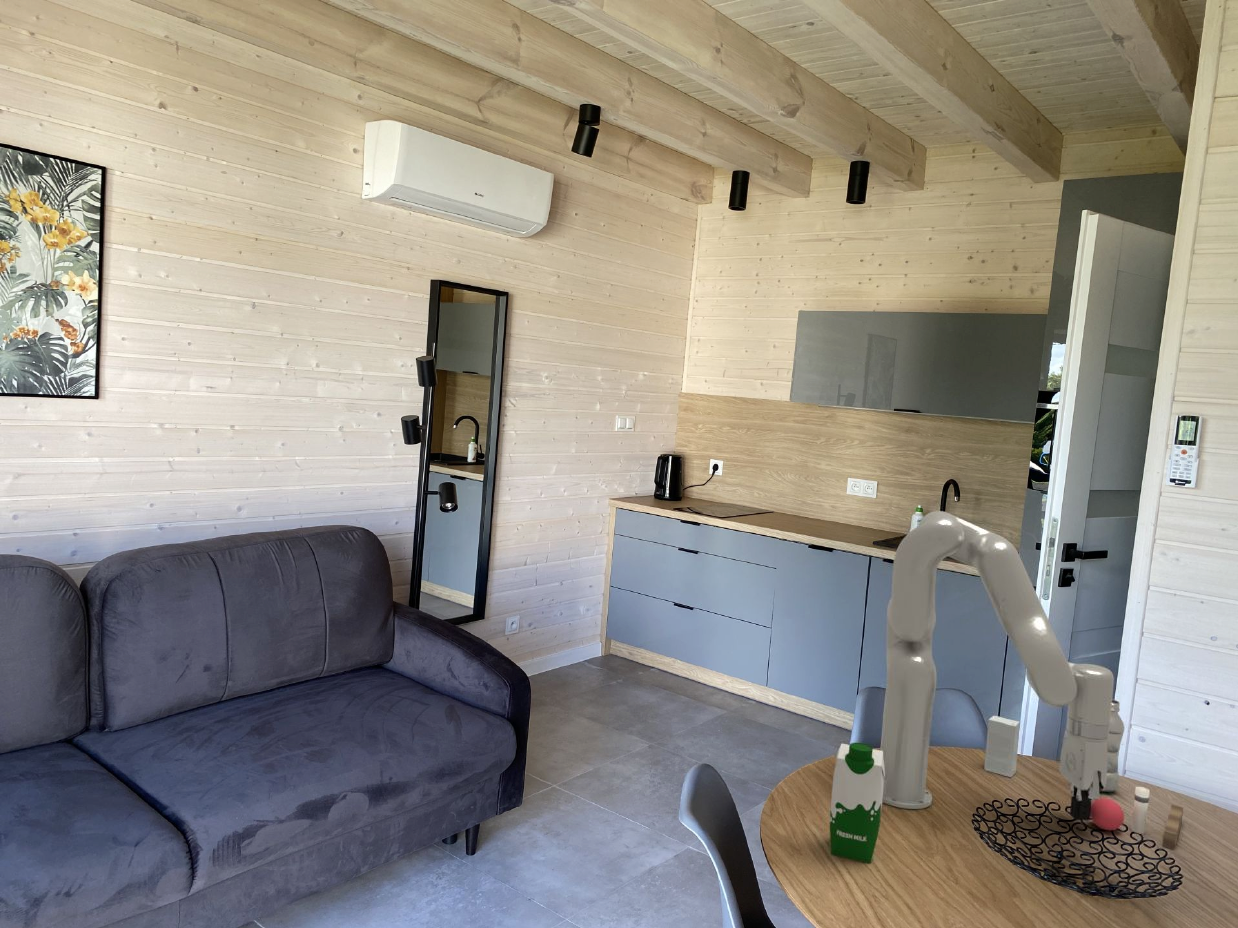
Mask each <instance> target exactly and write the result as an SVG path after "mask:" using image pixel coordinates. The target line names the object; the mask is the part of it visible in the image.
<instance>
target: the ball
mask: <svg viewBox="0 0 1238 928" xmlns="http://www.w3.org/2000/svg"><path fill="white" fill-rule="evenodd" d="M1090 819H1091V820H1092V822H1093V823H1094V825H1096V826H1097V827H1098V828H1100V829H1101V830H1104V831H1114V830H1118V829H1120V827H1121V826H1122V825H1123V823H1124V820H1125V815H1124V810H1123V808H1122V807H1121V806H1120V805H1119V803H1118V802H1117V801H1115V800H1114V799H1110V798H1106V797H1101V798H1100V797H1099V800H1097V799H1094V800H1093V802H1092V803H1091V814H1090Z"/></svg>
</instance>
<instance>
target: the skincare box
mask: <svg viewBox="0 0 1238 928" xmlns="http://www.w3.org/2000/svg"><path fill="white" fill-rule="evenodd" d="M1020 725H1021V722H1020V721H1018V720H1013V719H1008V718H1005V717H1002V716H997V715H993V716H991V717H990V718H989V719H988V720H987V733H986V734H987V735H986V742H985V743H986V745H985V753H984V754H985V755H984V756H985V757H984V766H983V767H984V768H983V770H984V771H986V772H990V773H994V774H998V775H1001V776H1004V777H1008V778H1012V777H1013V776H1014V775H1015V774H1016V771H1017V762H1018V751H1019V750H1018V749H1019V739H1020Z"/></svg>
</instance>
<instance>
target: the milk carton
mask: <svg viewBox="0 0 1238 928" xmlns="http://www.w3.org/2000/svg"><path fill="white" fill-rule="evenodd" d="M884 777H885V767H884V759H883V751H880V750H879V749H875V748H874V749H873V747H872V746H871V745H869V744H866V743H863V742H851V743H850V744H847V743H841V744H840V747H839V748H838V751H837V754H836V758H835V763H834V772H833V778H832V790H831V799H830V800H831V801H830V811H829V836H830V837H829V840H830V842H829V843H830V854H831V855H832V856H836V857H841V858H846V859H850V860H855V861H859V862H863V863H868V864H872V860H873V856H874V852H875V848H876V844H877V841H878V836H879V832H880V825H881V819H882V806H883V802H882V798H883V785H884Z"/></svg>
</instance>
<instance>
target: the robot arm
mask: <svg viewBox="0 0 1238 928" xmlns="http://www.w3.org/2000/svg"><path fill="white" fill-rule="evenodd" d="M906 534H907V535H905V536H904V537H903V538H902V540H901V542H900V543H899V545H898V547H897V549H896V551H895V554H894V559H893V564H892V566H893V567H892V581H891V598H890V599H889V602H888V604H887V609H886V652H885V654H886V657H885V658H886V671H887V672H886V673H887V674H886V684H885V694H884V695H885V696H884V705H883V714H882V715H883V716H882V729H881V741H880V751H883V759H884V767H885V777H884V785H883V798H882V804H887V805H889V806H893V807H896V808H900V809H906V810H920V809H921V810H922V809H925V808H927V807H929V806H931V805H932V803H933V795H932V793H931V792H930V791H929V790H928V789H927V788H926V784H927V783H926V781H927V774H928V773H927V771H928V764H929V763H928V761H929V749H930V739H931V729H932V718H933V709H934V708H933V707H934V700H935V695H936V690H937V689H936V688H937V681H938V680H937V679H938V677H937V673H938V672H937V668H936V664H935V661H934V659H933V658H934V657H933V632H934V629H935V627H936V623H937V615H936V582H937V572H938V571H937V570H938V566H939V565H940V564H941V562H942V561H943V560H944V559H945V558H947V557H949V558H952V559H953V560H955V561H957V562H960V563H963V564H965V565H967V566H970V567H972V568H974V569H976V570H977V572H978V575H979V577H980V579H981V581H982V584H983V587H984V588H985V591H986V592H987V595H988V597H989V599H990V603H991V604H992V607H993V609H994V611H995V613H996V616H997V619H998V620H999V622H1000V624H1001V626H1002V628H1003V630H1004V632H1005V633H1006V635H1007V636H1008V638H1009V639H1010V640H1011V642H1012V645H1013V646H1014V647H1015V649H1016V651H1017V652H1018V655H1019V657H1020V659H1021V661H1022V664H1023V665H1024V668H1025V669H1026V670H1025V676H1026V680H1027V682H1028V684H1029V685H1030V687H1031V688H1032V690H1033V691H1034V693H1035V695H1037V697H1038V698H1039V700H1040V701H1041V702H1043V703H1044V704H1045V705H1047V706H1049V707H1052V708H1053V707H1054V708H1064V707H1067V715H1066V716H1067V717H1066V727H1065V731H1064V736H1063V740H1062V745H1061V749H1060V750H1061V751H1060V758H1059V765H1058V770H1059V773H1060V774H1061V775H1062V776H1063V777H1064V778H1065V780H1067V781H1068V782H1069V784H1070V795H1071V801H1070V812H1069V814H1070V816H1071V818H1073V819H1074V820H1077V821H1090V819H1091V816H1090V814H1091V805H1092V803H1093V802H1094V800H1099V799H1100V792H1105V791H1104V789H1105V786H1106V779H1107V742H1106V741H1108V740H1109V730H1110V719H1111V707H1112V700H1113V696H1114V695H1113V694H1114V686H1115V685H1114V684H1115V678H1114V677H1115V676H1114V674H1113V672H1112V671H1111V670H1110V669H1109V668H1106V667H1105V666H1102V665H1097V664H1090V663H1074V662H1069V661H1067V658H1066V655H1065V654H1064V652H1063V649H1062V647H1061V645H1060V643H1059V641H1058V639H1057V637H1056V634H1055V632H1054V630H1053V629H1052V626H1051V623H1050V621H1049V618H1048V616H1047V614H1046V612H1045V609H1044V608H1043V605H1042V602H1041V601H1040V599H1039V597H1038V595H1037V592H1036V590H1035V587H1034V586H1033V583H1032V581H1031V578H1030V577H1029V574H1028V572H1027V570H1026V568H1025V565H1024V563H1023V561H1022V558H1021V556H1020V554H1019V552H1018V551H1017V549H1016V547H1015V546H1014V544H1013V543H1011V542H1010V541H1009V540H1007V539H1006V538H1005V537H1003V536H1001V535H999V534H997V533H994V532H991V531H989V530H988V529H985V528H982V527H980V526H977V525H976V524H974V523H971V522H969V521H966V520H965V519H962V518H960V517H959V516H955V515H954V514H951V513H949V512H946V511H943V510H942V511H941V510H937V511H936V510H934V511H931V512H929V513H927V514H926V515H924V516H923V517H922V518H921V519H920V521H919V523H918V526H916V527H915V528H914V529H912V530H911V531H910V532H908V533H906Z"/></svg>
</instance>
